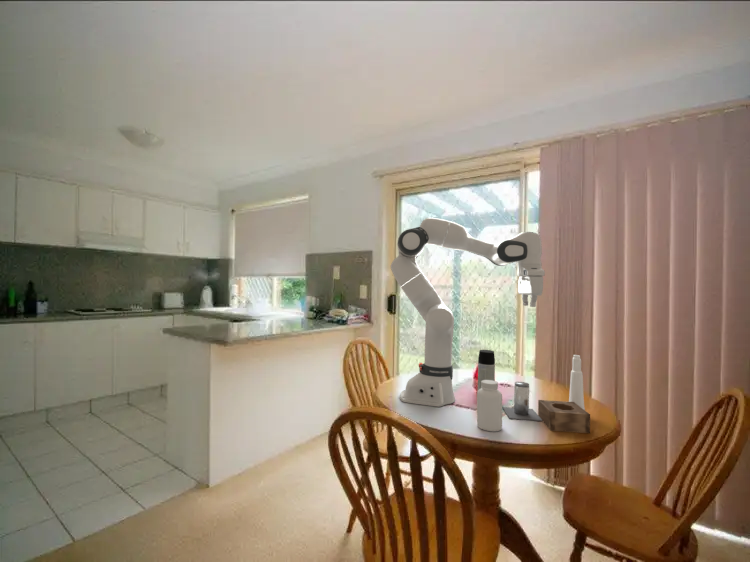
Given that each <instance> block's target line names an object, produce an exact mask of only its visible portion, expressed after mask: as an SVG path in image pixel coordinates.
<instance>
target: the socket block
mask: <svg viewBox="0 0 750 562" xmlns="http://www.w3.org/2000/svg"><path fill="white" fill-rule="evenodd" d="M537 403H538V406H537V407H538V411H537V412H538V413H537V415H538V416H539V417H540V418H541V419H542V420H543V421H542V423H543V424H544V425H545V426H546V427H547V428H548V429H549V430H550V431H553V432H554V431H555V432H556V431H557V432H568V433H581V434H591V414H590V413H589V412H588V411H587V410H586V409H585V410H584V409H582V408H581V407H580V406H578V405H577V404H576V403H575V402H569V401H567V400H566V401H563V400H548V399H538V402H537Z"/></svg>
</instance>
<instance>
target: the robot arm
mask: <svg viewBox="0 0 750 562" xmlns="http://www.w3.org/2000/svg"><path fill="white" fill-rule="evenodd" d="M396 245H397V249H398V256H396V257H395V258H394V259H393V260H392V262H391V265H390V271H391V272H392V275H393V277H394V279H395V280H396V282H397V284H398V285H399V287H400V288H401V289H402V291H403V292H404V294H405V295H406V296H407V298H408V300H409V302H411V304H412V305H413V307H414V308H415V309H416V310H417V312H418V313H419V315H421V318H422V319H423V320H424V321H425V330H424V332H425V333H424V334H425V336H424V337H425V338H424V363H423V362H419V363H418V369H419V372H418V373H417V374H415V375H413V376H412V377H411V378H410V379H408V381H407V382H406V385H405V388H404V390H402V391H401V392H400V395H399V399H400V400H401V402H403V403H408V404H416V405H423V406H430V407H439V408H440V407H443V406H446V405H450V404H453V403H455V401H456V398H455V397H456V396H455V394H454V388H453V378H454V367H453V364H452V363H453V362H452V359H453V358H452V357H453V348H452V347H453V338H454V327H455V326H454V325H455V317H454V313H453V312H452V310H451V309H450V308H449V307H447V306H446V304H445V302H444V301H443V300H442V298H441V296H440V295H439V294H438V292H437V290H436V289H435V288H434V285H432V283H431V281H429V279H428V277H427V276H425V274H424V272H423V271H422V269H421V268H420V266H419V265H418V263H417V258H418V257H419V256H420V255H421V253H422V252H423V251H424V248H425V246H427V245H434V246H438V247H441V248H445V249H448V250H456V251H463V252H468V253H470V254H475V255H476V256H477V255H478V256H480V257H484V258H485V259H487V260H488V261H489V262H491V264H493V265H495V266H498V267H504V266H507V265H509V264H513V263H516V264H517V277H519V278H518V284H517V292H518V295H521V300H522V306H525V307H526V306H527V307H528V306H529V307H530V308H536V307H537V301H538V296H542V294H543V290H544V276H545V275H546V271H545V270H544V269H543V267H542V261H541V257H542V255H543V253H542V239H541V236H540V235H539V233H536V232H534V231H533V232H532V231H522V232H520V233H518V234H517V235H515V236H514V237H511V238H508V239H505V240H503V241H502V240H501V241H500V242H498V243H490V242H487V241H484V240H482V239H481V240H480V239H477V238H476V237H473V236H472V235H470V234H469V232H468V230H467V229H466V227H465V226H463V225H461V224H458V223H457V222H454V221H450V220H446V219H444V218H443V219H442V218H435V217H426V218H425V219H423V220H422V221H421V223H420V225H419V226H417V227H413V228H407V229H405V230H403V231H402V232H401V233H400V234H399V237H398V239H397V244H396ZM529 297H530V302H529V300H528V299H529Z"/></svg>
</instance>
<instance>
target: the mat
mask: <svg viewBox="0 0 750 562" xmlns="http://www.w3.org/2000/svg"><path fill="white" fill-rule="evenodd" d="M503 409H504V410H503ZM502 410H503V411H504V413H505V414H506V416H507V417H508V419H509V420H516V421H517V420H519V421H521V420H522V421H531V422H532V421H534V422H543V420H542V419H541V418H540V417H539V416H538V413H536V411H535V410H534V409H533V408H529V415H518V414H516V413H514V407H510V406H502Z"/></svg>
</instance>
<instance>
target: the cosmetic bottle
mask: <svg viewBox="0 0 750 562" xmlns="http://www.w3.org/2000/svg"><path fill="white" fill-rule="evenodd" d="M572 355H573V356H572V360H571V361H572V365H571V366H572V367H571V368H572V370H570V381H569V395H568V397H569V398H568V402H575V403H576V404H577V405H578V406H580V407H581V408H582V409H584V410H585V411H586V409H585V398H584V377H583V371H582V358H581V355H579V354H572Z"/></svg>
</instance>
